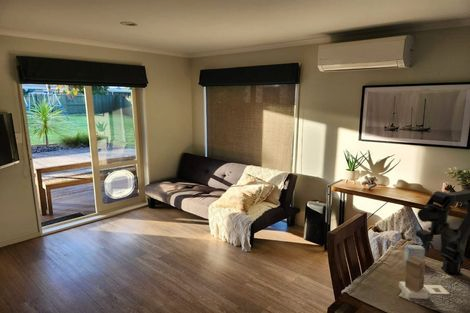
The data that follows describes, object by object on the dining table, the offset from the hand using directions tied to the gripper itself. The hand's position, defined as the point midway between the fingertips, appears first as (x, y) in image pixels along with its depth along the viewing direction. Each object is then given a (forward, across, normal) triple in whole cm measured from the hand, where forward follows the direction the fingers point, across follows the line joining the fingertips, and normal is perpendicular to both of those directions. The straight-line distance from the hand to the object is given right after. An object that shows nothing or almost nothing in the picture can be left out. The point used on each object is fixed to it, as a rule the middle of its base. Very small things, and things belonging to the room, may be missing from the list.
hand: (435, 250), depth 140 cm
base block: (+14, -19, -9) cm, 25 cm away
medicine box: (+13, +1, +12) cm, 18 cm away
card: (+13, -8, -10) cm, 18 cm away
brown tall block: (+10, -19, -9) cm, 23 cm away
